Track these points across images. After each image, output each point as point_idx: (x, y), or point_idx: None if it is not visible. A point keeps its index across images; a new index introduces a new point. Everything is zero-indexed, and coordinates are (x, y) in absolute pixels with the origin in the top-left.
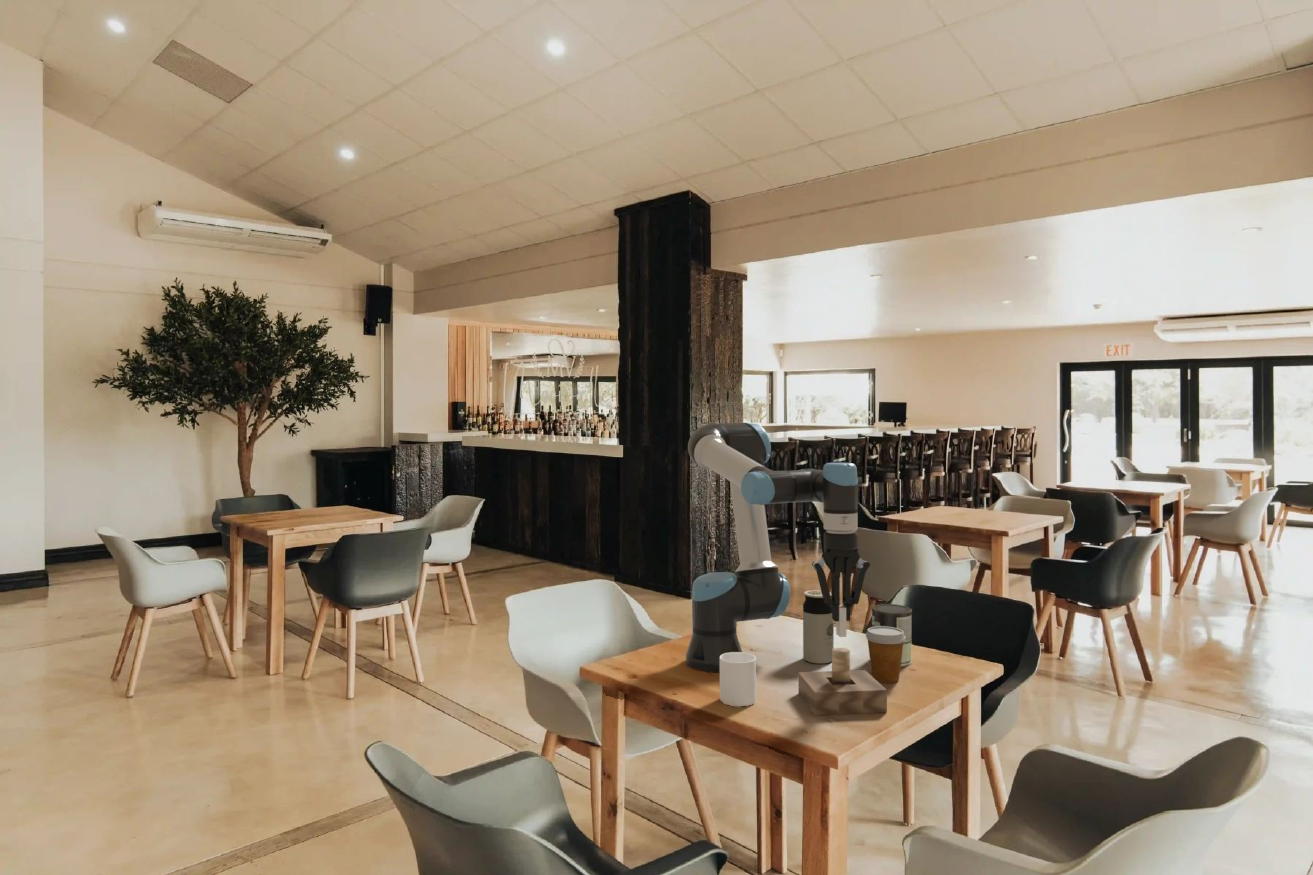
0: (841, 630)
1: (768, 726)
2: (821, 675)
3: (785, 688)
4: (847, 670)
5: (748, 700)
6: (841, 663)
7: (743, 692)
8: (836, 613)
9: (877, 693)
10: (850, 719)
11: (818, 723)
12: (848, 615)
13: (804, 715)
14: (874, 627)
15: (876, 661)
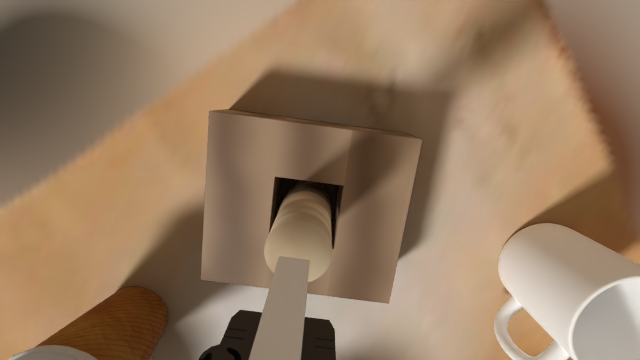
0: (300, 274)
1: (548, 92)
2: (339, 266)
3: (394, 308)
4: (293, 200)
5: (541, 227)
6: (312, 209)
7: (571, 234)
8: (317, 353)
9: (239, 114)
10: (335, 88)
11: (423, 81)
12: (237, 333)
13: (431, 139)
14: None
15: (140, 333)
